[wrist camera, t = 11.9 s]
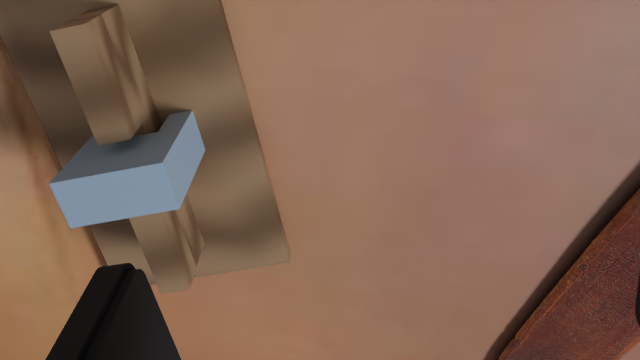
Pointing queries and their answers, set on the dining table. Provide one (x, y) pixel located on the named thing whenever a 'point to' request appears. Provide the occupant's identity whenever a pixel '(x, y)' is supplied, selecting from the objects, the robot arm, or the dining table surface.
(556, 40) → the dining table surface
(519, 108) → the dining table surface
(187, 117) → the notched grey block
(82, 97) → the walnut stand
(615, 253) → the wooden tablet
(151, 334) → the robot arm
